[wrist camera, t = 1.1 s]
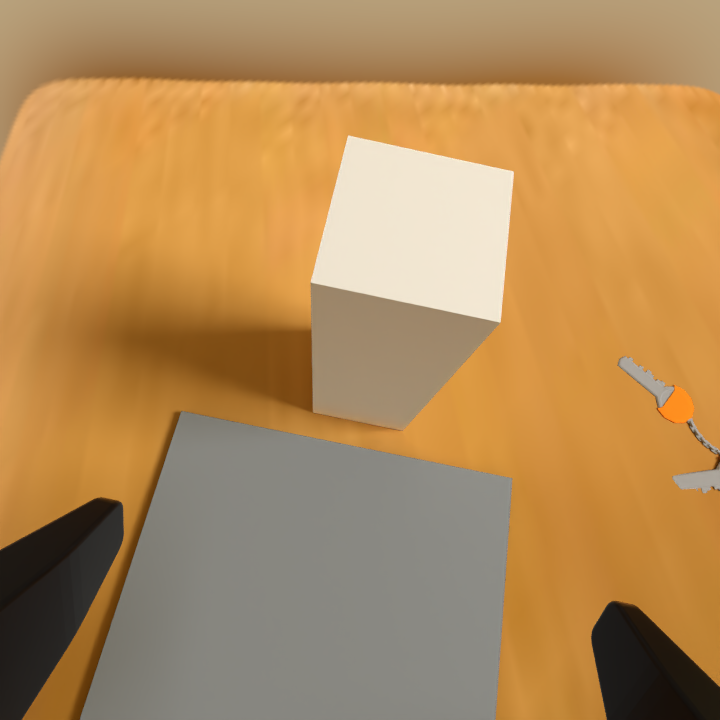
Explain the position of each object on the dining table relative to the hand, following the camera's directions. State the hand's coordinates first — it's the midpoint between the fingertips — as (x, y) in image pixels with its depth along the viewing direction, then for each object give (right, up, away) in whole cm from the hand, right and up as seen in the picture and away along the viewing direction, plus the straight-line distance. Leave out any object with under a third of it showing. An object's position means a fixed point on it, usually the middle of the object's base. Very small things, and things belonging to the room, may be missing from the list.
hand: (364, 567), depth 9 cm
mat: (-2, -8, +11) cm, 14 cm away
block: (0, +3, +15) cm, 16 cm away
